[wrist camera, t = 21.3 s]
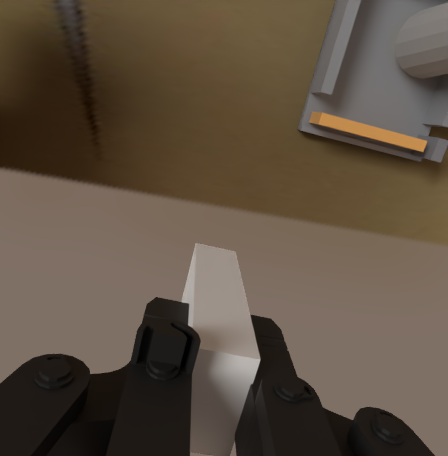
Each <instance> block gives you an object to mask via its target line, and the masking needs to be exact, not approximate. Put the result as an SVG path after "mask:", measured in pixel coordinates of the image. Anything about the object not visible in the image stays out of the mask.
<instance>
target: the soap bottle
mask: <svg viewBox="0 0 448 456" xmlns="http://www.w3.org/2000/svg"><path fill="white" fill-rule="evenodd" d="M396 58H397V60H398V62H399V64H400V66H401V68H402V69H403V70H404V71H405V72H406V73H408V74H409V75H410V76H412V77H417V78H421V79H424V78H429V77H434V76H439V75H444V74H448V2H447V3H444V4H441V5H438V6H434V7H431V8H428V9H424V10H421V11H419V12H417V13H416V14H414V15H413V16H411V17H410V18H408V19H407V21H406V22H405V24H404V25H403V26H402V28H401V29H400V31H399V34H398V38H397V41H396Z"/></svg>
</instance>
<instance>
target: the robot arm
mask: <svg viewBox="0 0 448 456" xmlns="http://www.w3.org/2000/svg"><path fill="white" fill-rule="evenodd" d="M234 441H235V444H236V454H237V456H435V455H434V454H433V453H432V452H431V451H430V450H429V448H428V447H427V446H426V445H425V444H424V443H423V442H422V441H421V439H420V438H419V437H418V436H417V435H416V434H415V433H414V431H413V430H412V429H411V428H410V427H409V426H407V425H406V424H405V423H404V422H403V421H402V420H401V419H399V418H397V417H396V416H394V415H393V414H392V413H389V412H387V411H385V410H381V409H379V408H373V407H365V408H361V409H360V410H359V411H358V412H357V413H356V415H355V417H354V420H350V419H348V418H346V417H343V416H341V415H338V414H336V413H333V412H331V411H329V410H327V409H325V408H323V407H322V405H321V402H320V399H319V397H318V395H317V393H316V392H315V390H314V389H313V388H312V387H311V386H310V385H309V384H308V383H307V382H305V381H304V380H302V379H300V378H298V377H297V374H296V371H295V369H294V366H293V363H292V360H291V357H290V354H289V351H287V346H286V343H285V342H284V337H283V334H282V331H281V329H280V328H279V327H278V326H277V325H276V324H275V323H274V321H272V319H269V318H264V317H260V316H255V315H250V312H249V308H248V303H247V299H246V295H245V290H244V287H243V282H242V277H241V273H240V269H239V264H238V260H237V256H236V252H235V251H231V250H226V249H222V248H217V247H212V246H208V245H203V244H199V243H196V245H195V249H194V253H193V257H192V261H191V265H190V269H189V273H188V277H187V281H186V286H185V289H184V293H183V297H182V302H178V301H173V300H168V299H163V298H158V297H156V298H154V299H153V300H152V301H151V302H149V303H148V304H147V306H146V310H145V313H144V318H143V321H142V324H141V325H140V327H139V328H138V330H137V334H136V339H135V344H134V349H133V353H132V358H131V361H130V362H129V363H128V364H127V365H126V366H125V367H123V368H121V369H119V370H116V371H113V372H108V373H101V374H90V370H89V368H88V367H87V366H86V365H85V364H84V362H82V361H81V360H79V359H77V358H75V357H73V356H68V355H63V354H46V355H42V356H38V357H35V358H32V359H31V360H29V361H27V362H26V363H24V364H22V365H21V366H20V367H19V368H18V369H17V370H16V371H14V372H13V373H12V374H11V375H10V376H8V377H7V378H6V379H5V380H4V381H3V382H2V383H0V456H190V452H194V453H200V454H207V455H214V456H230V453H231V450H232V447H233V444H234Z"/></svg>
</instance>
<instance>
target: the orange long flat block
mask: <svg viewBox="0 0 448 456" xmlns="http://www.w3.org/2000/svg"><path fill="white" fill-rule="evenodd" d="M309 122H310V123H314V124H317V125H321V126H325V127H329V128H332V129H336V130H340V131H344V132H347V133H351V134H355V135H359V136H362V137H366V138H370V139H374V140H378V141H381V142H385V143H389V144H393V145H396V146H400V147H404V148H408V149H412V150H417V151H421V152H423V151H424V149H425V146H426V144H427V141H426V140H422V139H418V138H415V137H411V136H407V135H403V134H400V133H396V132H392V131H389V130H385V129H381V128H378V127H374V126H370V125H366V124H363V123H359V122H355V121H352V120H348V119H344V118H341V117H337V116H333V115H329V114H326V113H322V112H312V113H311V117H310V120H309Z"/></svg>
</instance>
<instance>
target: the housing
mask: <svg viewBox="0 0 448 456" xmlns="http://www.w3.org/2000/svg"><path fill="white" fill-rule="evenodd" d="M447 2H448V0H336V1H335V4H334V8H333V11H332V14H331V18H330V21H329V25H328V28H327V31H326V35H325V38H324V41H323V45H322V48H321V52H320V55H319V58H318V62H317V65H316V69H315V72H314V75H313V79H312V82H311V85H310V89H309V92H308V96H307V99H306V102H305V106H304V109H303V112H302V116H301V119H300V123H299V126H298V129H297V130H301V131H304V132H308V133H312V134H316V135H320V136H323V137H327V138H331V139H335V140H339V141H342V142H346V143H350V144H354V145H358V146H362V147H365V148H369V149H373V150H377V151H381V152H384V153H388V154H392V155H396V156H400V157H403V158H407V159H411V160H415V161H419V162H421V160H422V158H425V159H429V160H433V161H436V162H440V163H441V161H442V158H443V156H444V153H445V151H446V148H447V146H448V140H445V139H441V138H436V137H430V136H428V135H429V132H430V130H431V127H432V126H435V127H444V128H448V74H444V75H439V76H434V77H429V78H424V79H421V78H417V77H412V76H410V75H409V74H408V73H406V72H405V71H404V70H403V69H402V68H401V66H400V64H399V62H398V60H397V58H396V41H397V38H398V34H399V31H400V29H401V28H402V26H403V25H404V24H405V22H406V21H407V19H408V18H410V17H411V16H413V15H414V14H416V13H417V12H419V11H421V10H424V9H428V8H431V7H434V6H438V5H441V4H444V3H447ZM312 112H322V113H326V114H329V115H333V116H337V117H341V118H344V119H348V120H352V121H355V122H359V123H363V124H366V125H370V126H374V127H378V128H381V129H385V130H389V131H392V132H396V133H400V134H403V135H407V136H411V137H415V138H418V139H422V140H426V141H427V144H426V146H425V149H424V151H423V152H421V151H417V150H412V149H408V148H404V147H400V146H396V145H393V144H389V143H385V142H381V141H378V140H374V139H370V138H366V137H362V136H359V135H355V134H351V133H347V132H344V131H340V130H336V129H332V128H329V127H325V126H321V125H317V124H314V123H310V122H309V120H310V117H311V113H312Z"/></svg>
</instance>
